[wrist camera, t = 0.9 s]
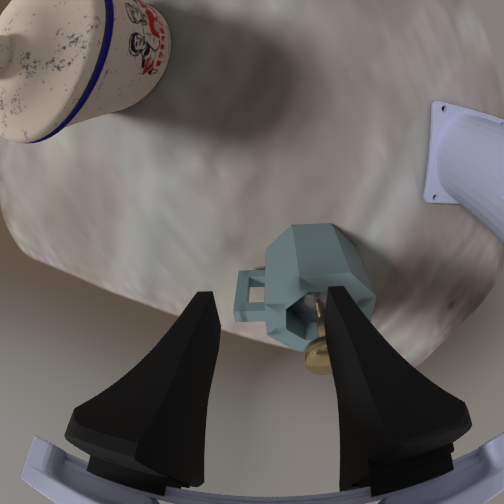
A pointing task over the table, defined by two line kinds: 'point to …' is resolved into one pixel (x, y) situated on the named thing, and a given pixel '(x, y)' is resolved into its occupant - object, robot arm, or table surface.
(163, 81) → the table surface
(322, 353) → the plunger
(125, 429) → the robot arm
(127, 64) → the teacup with lid
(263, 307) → the tea press body
